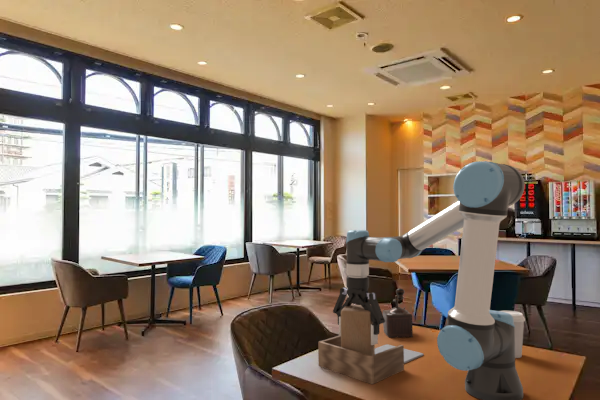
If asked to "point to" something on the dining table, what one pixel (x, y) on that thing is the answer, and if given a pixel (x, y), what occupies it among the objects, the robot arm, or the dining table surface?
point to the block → (356, 329)
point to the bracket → (360, 361)
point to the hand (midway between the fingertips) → (357, 339)
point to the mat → (408, 354)
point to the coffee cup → (518, 331)
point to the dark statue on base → (398, 319)
